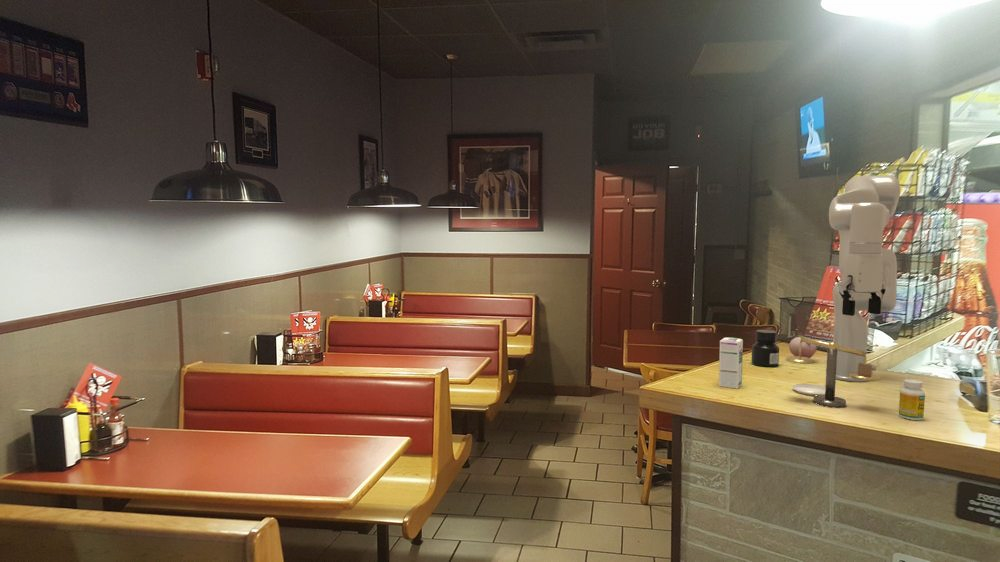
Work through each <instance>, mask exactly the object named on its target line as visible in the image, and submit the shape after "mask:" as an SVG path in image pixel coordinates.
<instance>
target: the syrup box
mask: <svg viewBox="0 0 1000 562" xmlns="http://www.w3.org/2000/svg"><path fill="white" fill-rule="evenodd" d="M743 345H744V340H743V339H742V338H738V337H723V338H722V339H721V340H719V356H718V357H719V363H718V364H719V365H718V366H719V368H718V386H719V387H721V388H729V389H737V390H738V389H739V388H740V387H741V386H742V383H743V357H744V355H743V353H744V352H743V350H744V349H743V347H744V346H743Z"/></svg>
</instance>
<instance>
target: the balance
mask: <svg viewBox="0 0 1000 562" xmlns="http://www.w3.org/2000/svg"><path fill="white" fill-rule="evenodd" d="M802 342H805V343H809V344H813V345H816V347H817V346H818V347H821V348H827V349H826V350H827V351H826V352H827V353H826V368H825V385H824V386H825V395H818V396H812V397H813V400H812V401H813V404H815V403H817V404H819V405H818V406H820V405H823V406H822V407H825V406H828V407H827V408H832V407H836V408H837V409H838V408H839V409H840V408H841V407H842V408H845V406H847V400H846V399H844V398H841V397H838V396H836V384H837V383H836V381H837V379H836V366H837V350H838V351H842V352H847V353H851V354H855V355H859V356H863V357H864V363H858V372H852V373H850V374H849V376H850V377H852V378H855V379H859V380H867V381H866V382H872V381H873V382H874V381H880V378H881V377H880V376H879V375H878V374H874V373H872V372H873V371H872V365H873V364H871V363H867V360H868V359H867V358H868V357H867V352H865V351H860V350H856V349H852V348H848V347H844V346H839V345H837V343H835V342H833V341H830V342H826V341H822V340H817V339H815V338H814V339H813V338H809V337H806V336H804V337H801V341H800V346H799V356H794V355H790V356H786V358H785V361H786V362H789V363H793V364H802V365H805V364H807V365H809V364H814V363H815V360H814V359H813V358H812V357H811V358H807V357H801V345H802ZM865 356H866V357H865ZM817 404H816V405H817ZM836 408H835V409H836Z"/></svg>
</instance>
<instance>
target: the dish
mask: <svg viewBox="0 0 1000 562" xmlns="http://www.w3.org/2000/svg"><path fill="white" fill-rule="evenodd" d="M825 386H826V385H824V386H823V385H820V384H812V383H798V384H797V383H796V384H793V385H792V386H791V387H792V390H794V391H796V392H797V393H799V394H803V395H806V394H807V396H812V395H817V396H818V395H825Z"/></svg>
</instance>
